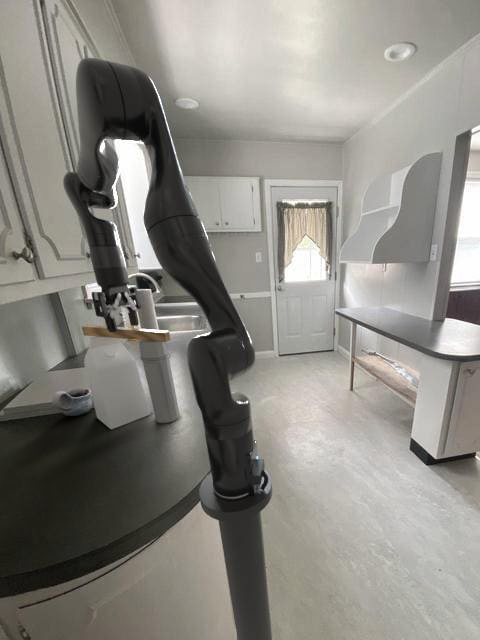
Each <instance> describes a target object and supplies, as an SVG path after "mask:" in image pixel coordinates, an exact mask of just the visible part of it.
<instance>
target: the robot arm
mask: <svg viewBox="0 0 480 640" xmlns="http://www.w3.org/2000/svg"><path fill="white" fill-rule="evenodd" d="M75 98H76V109H77V111H76V113H77V125H78V135H79V153H78V158H77V164H76V171H68V172H66V173H65V175H64V176H63V180H62V183H63V184H62V185H63V189H64V192H65V194H66V196H67V198H68V200H69V201H70V203H71V205H72V207H73V209H74V210H75V212H76V215H77V216H78V218H79V220H80V222H81V225H82V228H83V230H84V234H85V238H86V241H87V245H88V251H89V257H90V262H91V265H92V270H93V273H94V277H95V280H96V285H97V286H98V287H100V288H101V291H92V292H91V299H92V303H93V308H94V311H95V316H96V317H99V318H103V319H104V322H105V326H107V329H108V330H109V332H117V331H118V330H117V327H118V326H117V323H116V319H115V312H116V311H117V310H118V308H120V307H123V308H125V309H126V311H127V314H128V319H129V325H130V326H133V327H135V326H136V327H137V326H139V325H140V324H139V323H140V322H139V316H138V311H139V309H142V304H141V301H140V296H139V292H138V289H137V287H135V286H130V287H129V286H128V285H129V284H130V282H131V281H130V278H129V273H128V269H127V263H126V260H125V256H124V253H123V250H122V247H121V242H120V238H119V234H118V233H119V232H118V229H117V225H116V224H115V223H114V222H113V221H111V220H109V219H105V218H101V217H98V216H97V215H94V214H93V213H92V212H91V210H90V209H95V210H97V209H98V210H112V209H113V208H115V207H116V206H117V204H118V194H117V193H118V192H117V190H116V183H117V182H118V179H119V177H120V172H121V163H120V158H119V156H118V154H117V151H116V150H115V148H114V147H113V145H112V144H111V143H110V142H109V140H111V141H115V142H126V143H137V144H142V145H143V146H144V148H145V149H146V153H147V155H148V157H149V159H150V160H149V161H150V166H151V172H150V173H151V174H150V182H149V185H148V189H147V195H146V198H145V203H144V208H143V216H142V219H143V221H142V222H143V227H144V230H145V233H146V235H147V238H148V240H149V243H150V245H151V248H152V250H153V252H154V254H155V257H156V259H157V262H158V264H159V265H160V267H161V268H162V270H163V271H164V272H165V273H166V274H167V275H168V277H169V278H171V280H172V281H173V282H174V283H175V284H177V286H179V288H181V289H182V290H183V291H184V292H185V293H186V294H187V295H188V296H189V297H190V298H191V299H192V300H193V301H194V302H195V303H196V304H197V305H198V306H199V308H200V310H201V311H202V313H203V315H204V316H205V318H206V320H207V322H208V325H209V327H210V330H211V331H209V332H206V333H202V334H198V335H197V336H195V337H193V338H191V339H190V341H189V342H188V345H187V350H186V361H187V366H188V371H189V376H190V380H191V383H192V388H193V392H194V398H195V400H196V401H195V402H196V405H197V406H198V408H199V410H200V412H201V413H200V414H201V418H202V423H203V430H204V435H205V442H206V449H207V456H208V461H209V468H210V473H211V474H212V480H213V490H214V493H215V494H216V496H217V497H219V498H220V499H223V500H227V501H236V500H241V499H244V498H246V497H248V496H254V495H255V492H256V488H257V486H258V485H260V484H261V480H262V476H263V477H264V483H263V484H262V486H261V489H262V490H264V489H265V487H266V486H267V484H268V476H267V474H266V473H265V471H264V469H266V468H265V467H266V466H265V465H266V464H265V459H264V458H259V455H258V453H259V452H258V444H257V443H258V442H257V440H256V439H254V430H253V419H252V418H253V417H252V406H251V405H252V404H251V400H250V398H249V396H247V395H246V394H244V393H241V392H238V391H232V390H231V385H230V382H231V381H233V380H236V379H239V378H240V377H242V376H245V375H246V374H249V372H251V371H252V370H253V369H254V366H255V363H256V350H255V347H254V344H253V340H252V339H251V336H250V334H249V331H248V330H247V328H246V325H245V323H244V321H243V319H242V317H241V315H240V313H239V310H238V309H237V307H236V305H235V303H234V301H233V299H232V297H231V294H230V292H229V290H228V287H227V285H226V283H225V280H224V278H223V275H222V273H221V270H220V267H219V266H218V263H217V260H216V257H215V256H214V252H213V249H212V246H211V243H210V240H209V238H208V235H207V232H206V230H205V227H204V224H203V221H202V219H201V216H200V214H199V212H198V210H197V208H196V205H195V202H194V200H193V197H192V194H191V192H190V190H189V187H188V184H187V181H186V178H185V175H184V173H183V170H182V167H181V164H180V161H179V158H178V154H177V151H176V148H175V144H174V140H173V138H172V134H171V130H170V126H169V124H168V119H167V117H166V113H165V111H164V107H163V104H162V101H161V98H160V95H159V93H158V90H157V88H156V85H155V84H154V82H153V80H152V79H151V77H150V76H149V75H148V74H147V72H145V71H144V70H142V69H141V68H138V67H135V66H132V65H127V64H123V63H118V62H114V61H111V60H105V59H102V58H95V57H84V58H82V59H81V60H79V63H78V65H77V68H76V73H75Z"/></svg>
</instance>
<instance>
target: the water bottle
mask: <svg viewBox="0 0 480 640" xmlns="http://www.w3.org/2000/svg"><path fill="white" fill-rule="evenodd" d="M138 346H139V353H140V354H139V355H140V357H139V358H140V359H139V360H141V361H142V365H143V368H144V373H145V379H146V382H147V386H148V387H147V388H148V391H149V396H150V400H151V404H152V409H153V414H154V418H155V421H156V422H157V423H159V424H169V423H174V421H176V420H178V419H179V417H180V416H181V414H180V410H179V403H178V399H177V394H176V389H175V382H174V377H173V373H172V367H171V362H170V358H171V354H170V353H169V351H168V349H167V346H166V342H158V341H146V340H138Z"/></svg>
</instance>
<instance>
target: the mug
mask: <svg viewBox="0 0 480 640" xmlns="http://www.w3.org/2000/svg"><path fill="white" fill-rule="evenodd" d="M51 404H52V406H53V407H54V408H55V409H57V410H59V411H60V413H62V415H65V416H67V417H79V416H83V415H85V414H87V413H89V412H90V410H91V409H92V407H93V406H94V403H93V399H92V395H91V390H90V388H87V387H86V388H85V387H84V388H83V387H80V388H74V389H70V390H67V391H63V390H60V391H56V392H55V393H53V395H52V397H51Z"/></svg>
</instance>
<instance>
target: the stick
mask: <svg viewBox="0 0 480 640" xmlns="http://www.w3.org/2000/svg"><path fill="white" fill-rule="evenodd" d="M81 330H82V334H83V336H86V337H96V336H97V337H109V338H118V339H122V340H133V341H134V340H135V341H140V340H146V341H158V342H165V343H167V342H169V341H171V335H170V330H162V329H147V328H136V327H135V328H134V327H125V326H124V327H121V326H117V330H118V331H117V332H109V330H108V329H107V326H106V325H97V324H85V325H83V326H81Z"/></svg>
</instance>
